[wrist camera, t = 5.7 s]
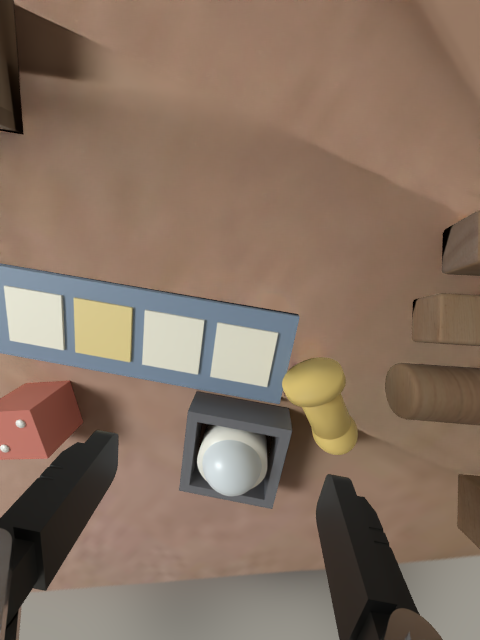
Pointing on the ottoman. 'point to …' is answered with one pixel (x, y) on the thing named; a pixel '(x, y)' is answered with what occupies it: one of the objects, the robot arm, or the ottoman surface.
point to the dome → (232, 459)
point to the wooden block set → (447, 381)
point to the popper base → (240, 418)
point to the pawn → (322, 402)
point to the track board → (145, 333)
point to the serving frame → (9, 72)
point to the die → (37, 419)
